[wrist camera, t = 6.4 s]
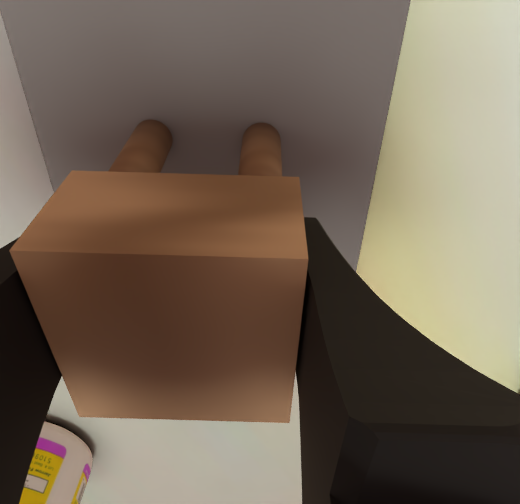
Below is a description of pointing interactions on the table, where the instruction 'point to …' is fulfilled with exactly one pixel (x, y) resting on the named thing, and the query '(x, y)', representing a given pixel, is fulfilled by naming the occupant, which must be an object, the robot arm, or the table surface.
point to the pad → (217, 88)
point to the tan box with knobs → (172, 283)
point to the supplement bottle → (57, 468)
